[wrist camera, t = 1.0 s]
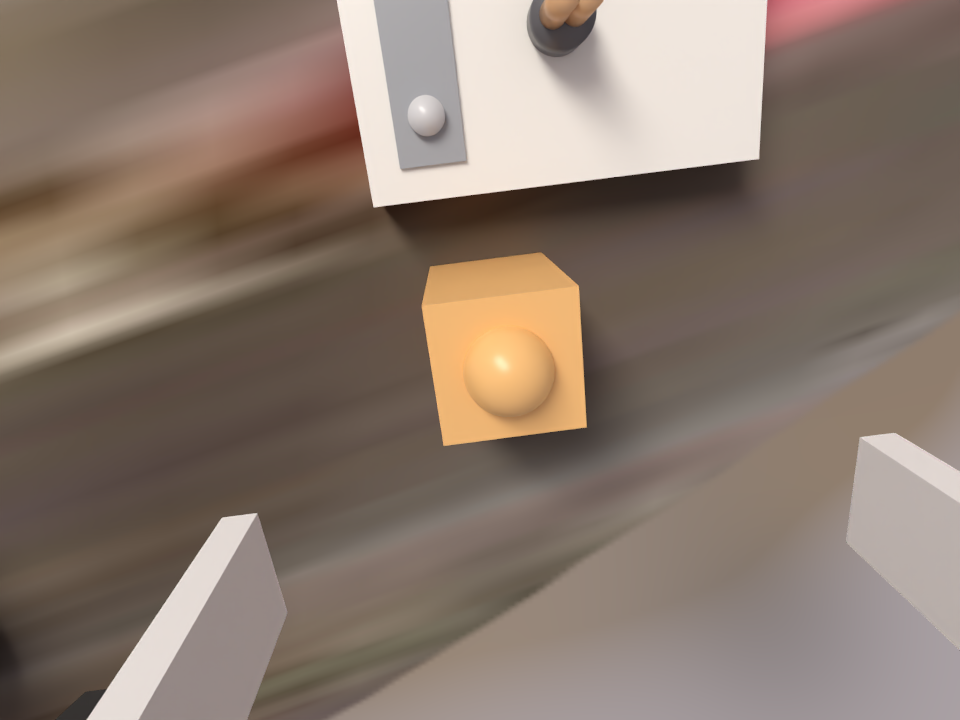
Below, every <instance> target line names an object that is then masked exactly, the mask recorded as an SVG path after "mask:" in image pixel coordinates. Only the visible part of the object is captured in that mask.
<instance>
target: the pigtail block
mask: <svg viewBox="0 0 960 720" xmlns="http://www.w3.org/2000/svg"><path fill="white" fill-rule="evenodd" d="M337 4H338V9H339V15H340V20H341V26H342V32H343V37H344V43H345V49H346V54H347V60H348V66H349V71H350V77H351V83H352V88H353V94H354V99H355V105H356V111H357V116H358V122H359V128H360V133H361V139H362V145H363V150H364V156H365V162H366V167H367V173H368V178H369V184H370V190H371V195H372V201H373V207H380V206H388V205H396V204H404V203H412V202H420V201H428V200H436V199H444V198H452V197H460V196H468V195H476V194H484V193H492V192H500V191H508V190H516V189H524V188H531V187H539V186H547V185H555V184H563V183H571V182H579V181H587V180H595V179H603V178H611V177H619V176H627V175H635V174H643V173H651V172H659V171H667V170H675V169H683V168H691V167H699V166H707V165H715V164H723V163H731V162H739V161H747V160H755V159H759V148H760V128H761V109H762V90H763V71H764V52H765V33H766V14H767V0H337Z"/></svg>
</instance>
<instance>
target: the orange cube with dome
mask: <svg viewBox="0 0 960 720" xmlns="http://www.w3.org/2000/svg"><path fill="white" fill-rule="evenodd" d="M422 311H423V317H424V324H425V330H426V336H427V343H428V349H429V355H430V362H431V368H432V374H433V381H434V387H435V393H436V400H437V406H438V412H439V419H440V425H441V431H442V438H443V444H444V446H447V445H454V444H462V443H470V442H477V441H485V440H493V439H501V438H508V437H516V436H524V435H531V434H539V433H547V432H555V431H562V430H570V429H578V428H585V427H587V423H586V406H585V388H584V370H583V353H582V335H581V318H580V300H579V286H578V285H577V284H576V283H575V282H574V281H573V280H571V279H570V278H569V277H568V276H567V275H566V274H565V273H564V272H563V271H561V270H560V269H559V268H558V267H557V266H556V265H555V264H554V263H553V262H551V261H550V260H549V259H548V258H547V257H546V256H545V255H544V254H542V253H541V252H540V253H532V254H524V255H516V256H508V257H501V258H493V259H485V260H477V261H469V262H461V263H453V264H445V265H437V266H430V270H429V274H428V279H427V284H426V288H425V293H424V298H423V302H422Z"/></svg>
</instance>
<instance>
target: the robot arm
mask: <svg viewBox="0 0 960 720" xmlns="http://www.w3.org/2000/svg"><path fill="white" fill-rule="evenodd" d="M846 543H847V544H848V545H849V546H851V547H852V548H853V549H854V550H855V551H856V552H857V553H858V554H859V555H860V556H861V557H862V558H863V559H864V560H865V561H866V562H867V563H868V564H869V565H871V566H872V567H873V568H874V569H875V570H876V571H877V572H878V573H879V574H880V575H881V576H882V577H883V578H884V579H885V580H886V581H887V582H888V583H890V585H892V586H893V587H894V588H895V589H896V590H897V591H898V592H899V593H900V594H901V595H902V596H903V597H904V598H905V599H906V600H907V601H908V602H909V603H910V604H912V605H913V606H914V607H915V608H916V609H917V610H918V611H919V612H920V613H921V614H922V615H923V616H924V617H925V618H926V619H927V620H928V621H930V623H932V624H933V625H934V626H935V627H936V628H937V629H938V630H939V631H940V632H941V633H942V634H943V635H944V636H945V637H946V638H947V639H948V640H950V642H951V643H953V644H954V645H955V646H956V647H957V648H958V649H959V650H960V471H958V470H956V469H955V468H953V467H951V466H950V465H948V464H946V463H945V462H943V461H941V460H940V459H938V458H936V457H934V456H933V455H931V454H930V453H928V452H926V451H924V450H922V449H921V448H919V447H918V446H916V445H914V444H913V443H911V442H909V441H908V440H906V439H904V438H903V437H901V436H899V435H898V434H896V433H890V434H883V435H874V436H866V437H860V440H859V448H858V455H857V463H856V470H855V478H854V486H853V493H852V501H851V508H850V515H849V523H848V530H847V538H846ZM286 615H287V609H286V606H285V603H284V599H283V596H282V593H281V590H280V586H279V583H278V580H277V576H276V573H275V570H274V566H273V563H272V560H271V557H270V553H269V550H268V547H267V543H266V540H265V537H264V533H263V530H262V527H261V524H260V520H259V517H258V514H257V513H255V514H247V515H239V516H231V517H223V518H222V519H221V520H220V522H219V523H218V525H217V526H216V528H215V529H214V531H213V532H212V533H211V535H210V536H209V538H208V539H207V541H206V542H205V544H204V545H203V547H202V548H201V550H200V551H199V553H198V554H197V556H196V557H195V559H194V560H193V562H192V563H191V565H190V566H189V568H188V569H187V571H186V572H185V574H184V575H183V577H182V578H181V580H180V581H179V583H178V584H177V586H176V587H175V589H174V590H173V592H172V593H171V595H170V596H169V598H168V599H167V601H166V602H165V604H164V605H163V607H162V608H161V610H160V611H159V613H158V614H157V616H156V617H155V618H154V620H153V621H152V623H151V624H150V626H149V627H148V629H147V630H146V632H145V633H144V635H143V636H142V638H141V639H140V641H139V642H138V644H137V645H136V647H135V648H134V650H133V651H132V653H131V654H130V656H129V657H128V659H127V660H126V662H125V663H124V665H123V666H122V668H121V669H120V671H119V672H118V674H117V675H116V677H115V678H114V680H113V681H112V683H111V684H110V686H109V687H108V689H104V690H97V691H89V692H85V693H84V694H83V695H82V696H81V697H79V698H78V699H77V700H76V701H75V702H74V703H73V704H72V705H71V706H70V707H69V708H68V709H66V710H65V711H64V712H63V713H62V714H61V715H60V716H59V717H58V718H57V719H56V720H247V718H248V716H249V713H250V710H251V708H252V705H253V702H254V700H255V697H256V695H257V692H258V689H259V687H260V684H261V681H262V679H263V676H264V673H265V671H266V668H267V666H268V663H269V660H270V658H271V655H272V652H273V650H274V647H275V644H276V642H277V639H278V636H279V634H280V631H281V629H282V626H283V623H284V621H285V618H286Z"/></svg>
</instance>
